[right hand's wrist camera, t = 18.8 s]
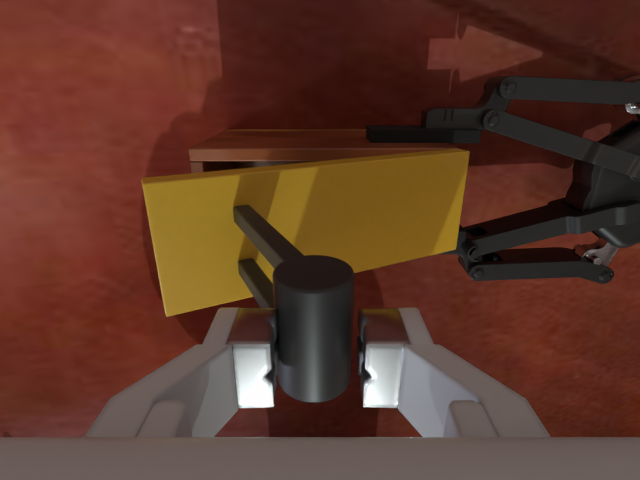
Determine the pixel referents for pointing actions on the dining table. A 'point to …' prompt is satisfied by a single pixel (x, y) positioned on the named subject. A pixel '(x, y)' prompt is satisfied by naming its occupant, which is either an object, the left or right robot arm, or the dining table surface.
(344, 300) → the lid
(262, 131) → the chest
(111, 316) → the dining table surface
